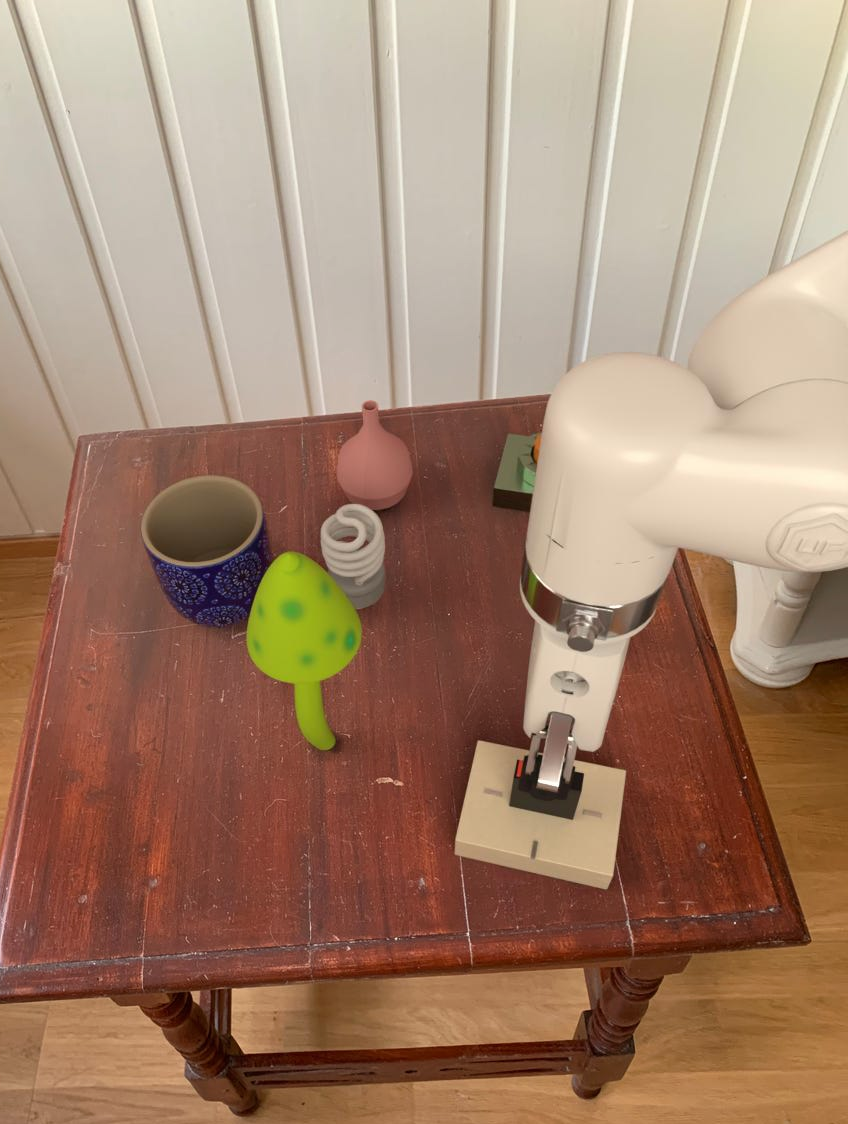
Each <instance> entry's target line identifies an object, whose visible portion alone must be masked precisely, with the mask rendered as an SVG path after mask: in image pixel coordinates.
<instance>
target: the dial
mask: <svg viewBox="0 0 848 1124" xmlns="http://www.w3.org/2000/svg"><path fill="white" fill-rule="evenodd" d="M522 765H523V760H517V762H516V767H515V772H514V777H513V783H512V790H511V796H510V802H509V806H510V807H515V808H519V809H524V810H529V811H533V812H538V813H542V814H547V815H552V816H556V817H561V818H565V819H570V820H573V819H574V815H575V812H576V809H577V805H578V802H579V799H580V795H581V792H582V786H583V779H584V773H581V772H576V771H575V773H574V776H573V780H572V783H571V786H570V789H569V793H568V796H567V799H566V800H558V799H554V800H553V801H543V800H539V799H535V798H533V797H532V796H531V795H530V793H527V792H523V791H520V790H519V789H518V784H519V779H520V775H521V770H522Z"/></svg>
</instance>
